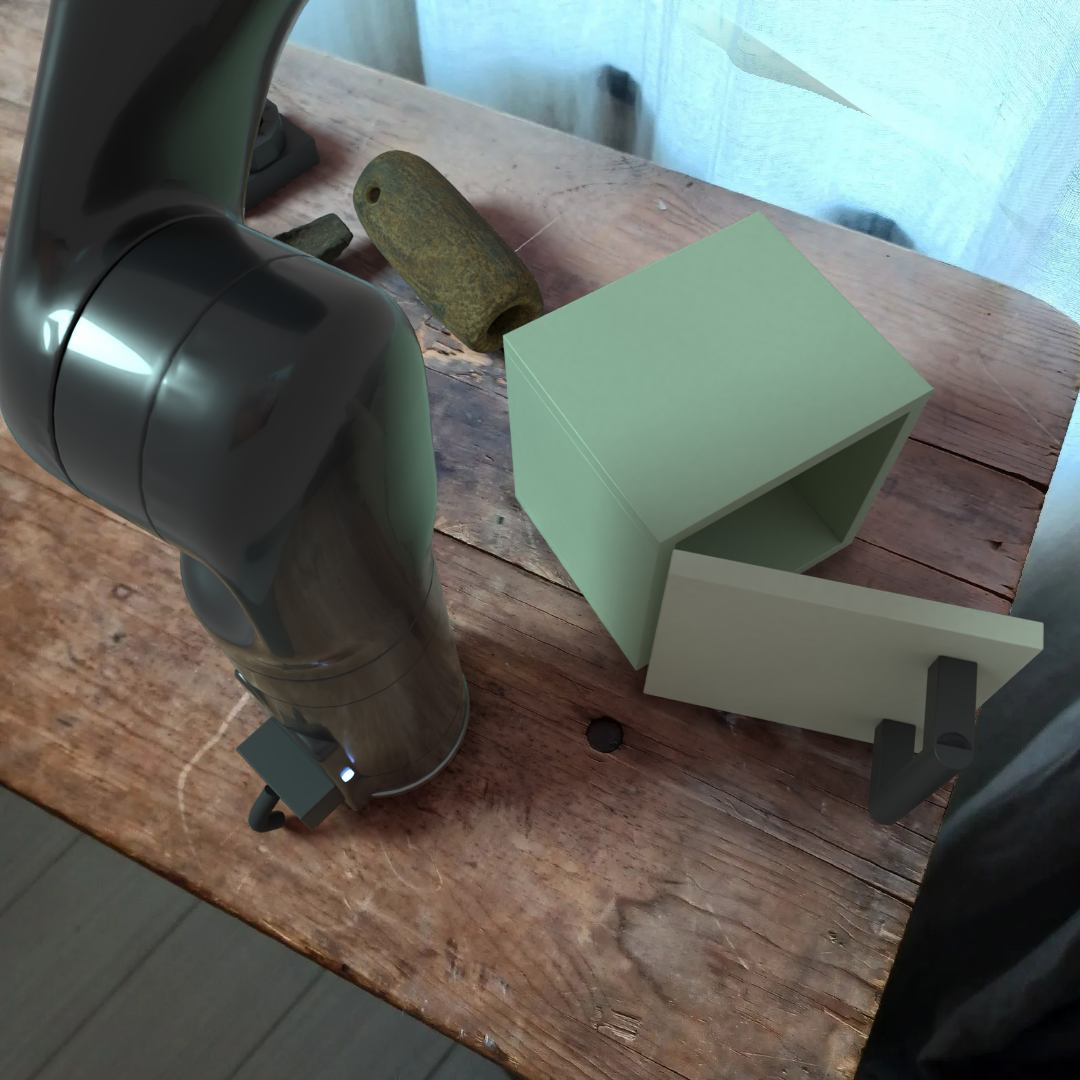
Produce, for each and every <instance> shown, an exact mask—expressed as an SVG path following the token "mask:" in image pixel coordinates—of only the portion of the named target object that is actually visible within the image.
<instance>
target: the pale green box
mask: <svg viewBox="0 0 1080 1080" xmlns="http://www.w3.org/2000/svg"><path fill="white" fill-rule="evenodd" d="M503 342H504V347H503V354H504V364H505V366H504V367H505V377H506V390H507V391H506V392H507V404H508V405H507V406H508V418H509V428H510V431H509V432H510V440H511V441H510V443H511V444H510V445H511V456H512V469H513V481H514V484H513V485H514V495H515V498H516V500H517V502H518V503H519V505H520V506H521V508H522V509H523V510H524V512H525V513H526V514H527V516H528V518H529V519H530V520H531V522H532V523H533V524H534V526H535V527H536V529H537V531H538V532H539V533H540V535H541V536H542V538H543V539H544V540H545V542H546V543H547V546H549V548H550V549H551V550H552V552H553V553H554V555H555V557H556V558H557V559H558V561H559V562H560V563H561V565H562V567H563V568H564V569H565V571H566V572H567V574H568V575H569V576H570V578H571V579H572V581H573V582H574V583H575V585H576V586H577V588H578V590H579V591H580V592H581V594H582V595H583V597H584V598H585V600H586V601H587V603H588V604H589V605H590V607H591V608H592V610H593V611H594V613H595V614H596V616H597V617H598V618H599V620H600V621H601V623H602V624H603V625H604V627H605V629H606V630H607V632H608V633H609V634H610V636H611V637H612V638H613V640H614V642H615V643H616V645H618V647H619V649H620V650H621V651H622V653H623V654H624V656H625V657H626V659H627V660H628V661H629V663H630V664H631V666H632V668H633V669H634V670H635V671H639V670H640V669H642V668H644V667H646V666H648V665H649V661H650V656H651V652H652V647H653V642H654V637H655V633H656V628H657V623H658V618H659V614H660V609H661V604H662V599H663V594H664V590H665V585H666V580H667V575H668V571H669V566H670V561H671V556H672V552H673V550H674V549H676V550H681V551H686V552H691V553H696V554H701V555H706V556H711V557H716V558H721V559H726V560H731V561H736V562H741V563H746V564H751V565H756V566H761V567H766V568H771V569H776V570H781V571H786V572H791V573H796V574H801V575H802V573H805V572H806V571H807V570H809V569H811V568H812V567H814V566H816V565H817V564H819V563H821V562H823V561H824V560H826V559H828V558H830V557H831V556H833V555H835V554H836V553H838V552H839V551H841V550H843V549H844V548H846V547H848V546H849V545H851V544H852V543H853V541H854V539H855V537H856V535H857V534H858V532H859V530H860V528H861V526H862V524H863V522H864V520H865V519H866V517H867V515H868V513H869V511H870V509H871V507H872V506H873V504H874V502H875V500H876V498H877V497H878V495H879V492H880V491H881V489H882V487H883V486H884V483H885V482H886V480H887V478H888V475H889V474H890V472H891V470H892V469H893V466H894V465H895V463H896V461H897V460H898V457H899V456H900V453H901V452H902V450H903V448H904V446H905V444H906V442H907V441H908V439H909V437H910V435H911V433H912V431H913V429H914V428H915V426H916V424H917V422H918V420H919V418H920V416H921V415H922V413H923V410H924V409H925V406H926V405H927V403H928V401H929V400H930V397H931V396H932V395H933V392H934V390H935V388H934V387H933V386H932V385H931V383H929V381H928V380H927V379H925V377H924V376H922V374H921V373H919V371H917V369H916V368H915V366H913V365H912V364H911V363H910V362H909V361H908V360H907V359H906V358H905V357H904V356H903V355H902V353H900V352H899V351H898V350H897V349H896V348H895V347H894V346H893V345H892V344H891V343H890V342H889V341H888V340H887V338H885V337H884V336H883V335H882V333H880V332H879V330H877V329H876V327H875V326H874V325H872V323H870V322H869V321H868V320H867V318H866V317H865V316H864V315H863V314H862V313H861V312H860V311H859V310H858V309H857V308H856V307H855V306H854V305H853V304H852V303H851V302H850V301H849V300H848V299H847V298H846V297H845V296H844V295H843V294H842V293H841V292H840V291H839V290H838V288H836V286H834V285H833V284H832V283H831V281H829V279H827V277H825V275H824V274H823V273H822V272H820V270H819V269H818V268H817V267H816V266H815V265H814V264H813V263H812V262H811V261H810V260H809V259H808V258H807V257H806V256H805V255H804V254H803V253H802V252H801V251H800V250H799V249H798V248H797V247H796V246H795V245H794V244H793V243H792V242H791V241H790V240H789V239H788V238H787V237H786V235H784V234H783V233H782V232H781V230H780V229H778V228H777V226H776V225H775V224H773V222H772V221H771V220H769V218H768V217H767V216H766V215H764V213H763V212H762V211H761V210H759V211H756V212H755V213H753V214H751V215H748V216H746V217H744V218H742V219H740V220H738V221H735V222H733V223H732V224H730V225H728V226H726V227H724V228H721V229H719V230H718V231H715V232H714V233H712V234H709V235H707V236H705V237H703V238H700V239H699V240H697V241H694V242H692V243H690V244H688V245H687V246H684V247H682V248H681V249H679V250H676V251H674V252H672V253H670V254H668V255H666V256H664V257H662V258H660V259H657V260H656V261H653V262H652V263H650V264H647V265H645V266H643V267H641V268H639V269H637V270H635V271H633V272H631V273H629V274H627V275H624V276H623V277H621V278H619V279H616V280H615V281H612V282H610V283H608V284H606V285H604V286H602V287H600V288H598V289H596V290H593V291H592V292H590V293H587V294H585V295H583V296H581V297H579V298H577V299H575V300H574V301H571V302H569V303H567V304H565V305H563V306H561V307H558V308H556V309H554V310H553V311H551V312H549V313H546V314H544V315H542V316H541V317H540V318H538V319H536V320H534V321H532V322H530V323H528V324H526V325H524V326H522V327H519V328H517V329H515V330H513V331H511V332H509V333H507V334H505V335H503Z"/></svg>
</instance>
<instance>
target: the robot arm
mask: <svg viewBox="0 0 1080 1080" xmlns="http://www.w3.org/2000/svg"><path fill="white" fill-rule="evenodd" d="M309 2H310V0H50V1H49V6H48V12H47V13H48V14H47V19H46V25H45V30H44V35H43V41H42V46H41V51H40V56H39V62H38V66H37V73H36V76H35V84H34V88H33V92H32V93H33V94H32V98H31V102H30V108H29V112H28V113H29V114H28V119H27V124H26V130H25V134H24V140H23V144H22V150H21V154H20V160H19V166H18V170H17V176H16V180H15V186H14V191H13V195H12V196H13V197H12V202H11V206H10V211H9V218H8V224H7V228H6V235H5V239H4V246H3V252H2V256H1V261H0V262H1V263H0V411H1V415H2V418H3V421H4V423H5V426H6V427H7V428H8V430H9V432H10V434H11V437H13V439H14V441H15V443H17V445H18V446H19V447H20V448H21V449H22V451H23V452H24V453H25V454H26V455H27V456H28V457H29V458H30V459H31V460H32V461H33V462H35V463H36V464H37V465H38V466H39V467H40V468H41V469H42V470H44V471H45V472H47V473H48V474H49V475H51V476H52V477H54V478H55V479H57V480H58V481H60V482H61V483H63V484H65V485H66V486H68V487H69V488H71V489H73V490H74V491H76V492H78V493H79V494H81V495H82V496H84V497H86V498H87V499H88V500H91V501H93V502H94V503H96V504H97V505H99V506H101V507H102V508H104V509H106V510H107V511H109V512H112V513H113V514H115V515H117V516H119V517H120V518H122V519H124V520H126V521H127V522H129V523H131V524H133V525H134V526H136V527H138V528H139V529H141V530H143V531H145V532H147V533H148V534H150V535H152V536H154V537H155V538H157V539H159V540H160V541H162V542H164V543H166V544H168V545H170V546H171V547H173V548H175V549H177V550H179V571H180V579H181V584H182V588H183V591H184V594H185V595H184V596H185V598H186V599H187V602H188V604H189V606H190V609H191V610H192V612H193V614H194V615H195V617H196V619H197V620H198V621H199V623H200V625H201V626H202V627H203V629H204V630H205V632H206V633H207V634H208V635H209V637H211V639H212V640H213V642H214V643H215V644H216V645H217V646H218V648H219V649H220V651H222V653H223V654H224V655H225V657H226V658H227V659H228V661H229V662H230V663H231V665H232V666H233V667H234V671H233V675H234V676H235V678H236V680H237V681H238V682H239V684H240V685H241V686H242V687H243V688H244V690H245V691H246V692H247V694H248V695H249V696H250V697H251V699H252V700H253V702H254V703H255V704H256V705H257V706H258V707H259V709H260V710H261V711H262V713H263V714H264V715H265V716H266V717H267V720H266V721H264V722H263V723H262V724H260V726H259V727H257V728H256V730H254V731H253V732H252V733H251V734H250V735H249V736H248V737H247V738H246V739H244V740H243V741H242V742H241V743H240V744H239V745H238V746H236V747H235V751H236V752H237V753H238V754H239V755H240V756H241V758H243V760H244V761H245V762H246V763H247V764H248V765H249V766H250V767H251V769H253V771H254V772H255V773H256V774H257V775H258V776H259V777H260V778H261V779H262V780H263V782H264V783H266V785H265V786H264V787H263V789H262V790H261V792H260V794H259V795H258V796H257V798H256V799H255V802H253V804H252V806H251V807H250V810H249V813H248V817H247V822H248V825H249V827H250V829H251V830H252V831H253V832H257V833H260V834H263V833H268V832H272V831H276V830H280V829H281V828H283V827H284V825H285V824H286V815H285V813H284V812H283V811H282V810H279V809H277V810H274V809H275V807H276V806H277V804H278V802H279V801H280V800H281V801H282V802H283V803H284V804H285V805H286V806H287V807H288V809H289V810H290V811H291V812H292V813H293V814H294V815H295V816H296V818H298V819H299V820H300V822H302V823H303V824H304V825H305V826H306V828H307V829H309V831H314V830H315V829H316V828H317V827H318V826H319V825H320V824H321V823H323V822H324V820H325V819H327V818H328V817H329V816H330V815H331V814H332V813H333V812H334V811H335V810H336V809H337V808H338V807H339V806H340V805H342V803H343V802H344V803H345V804H346V805H347V806H348V807H349V808H350V810H352V811H354V812H360V811H362V809H364V808H365V807H366V806H367V805H368V804H369V803H370V802H371V801H373V800H374V799H377V800H379V799H389V798H394V797H399V796H402V795H405V794H409V793H412V792H413V791H416V790H418V789H420V788H422V787H423V786H425V785H427V784H428V783H430V782H431V781H433V780H434V779H435V778H437V777H438V776H439V775H440V774H441V773H442V772H443V771H444V770H445V769H446V768H447V767H448V766H449V765H450V764H451V762H452V761H453V760H454V758H455V757H456V755H457V753H458V752H459V751H460V750H461V747H462V744H463V743H464V740H465V738H466V735H467V732H468V728H469V725H470V724H469V723H470V718H471V697H470V691H469V687H468V684H467V680H466V677H465V674H464V671H463V668H462V665H461V662H460V658H459V654H458V649H457V645H456V642H455V637H454V633H453V632H454V631H453V629H452V625H451V621H450V615H449V612H448V608H447V604H446V598H445V594H444V591H443V586H442V582H441V579H440V575H439V569H438V565H437V560H436V556H435V553H434V548H433V543H432V542H433V537H434V530H435V524H436V517H437V510H438V500H439V499H438V498H439V482H438V480H439V479H438V472H437V471H438V470H437V461H436V454H435V444H434V435H433V428H432V416H431V415H432V414H431V413H432V412H431V402H430V392H429V383H428V377H427V369H426V363H425V360H424V355H423V350H422V347H421V344H420V341H419V338H418V336H417V333H416V330H415V328H414V327H413V325H412V323H411V320H410V318H409V317H408V315H407V314H406V312H405V311H404V309H403V308H402V307H401V306H400V304H399V303H398V302H397V301H396V300H395V299H394V297H392V296H391V295H390V294H388V292H387V291H384V290H383V289H382V288H379V287H378V286H376V285H375V284H373V283H371V282H369V281H367V280H365V279H363V278H360V277H358V276H356V275H354V274H352V273H349V272H348V271H346V270H343V269H340V268H338V267H336V266H334V265H332V264H327V263H325V262H323V261H321V260H320V259H318V258H316V257H313V256H311V255H309V254H307V253H305V252H303V251H300V250H298V249H296V248H294V247H292V246H289V245H287V244H285V243H283V242H281V241H279V240H276V239H274V238H273V237H272V236H270V235H268V234H266V233H263V232H261V231H259V230H257V229H254V228H252V227H250V226H248V225H246V224H245V213H244V211H245V197H246V189H247V182H248V176H249V171H250V166H251V161H252V156H253V150H254V146H255V142H256V138H257V133H258V129H259V125H260V121H261V117H262V113H263V109H264V105H265V102H266V98H267V99H268V95H269V91H270V88H271V85H272V82H273V78H274V75H275V72H276V69H277V67H278V65H279V62H280V59H281V57H282V54H283V52H284V50H285V48H286V47H285V46H286V45H287V42H288V40H289V39H290V37H291V34H292V32H293V31H294V29H295V27H296V24H297V22H298V20H299V19H300V16H301V15H302V13H303V12H304V10H305V8H306V7H307V5H308V3H309Z"/></svg>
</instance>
